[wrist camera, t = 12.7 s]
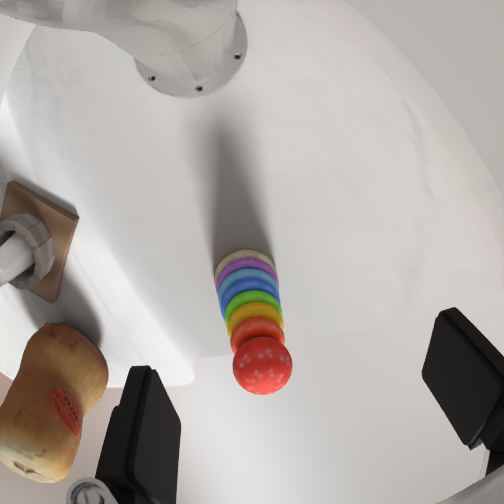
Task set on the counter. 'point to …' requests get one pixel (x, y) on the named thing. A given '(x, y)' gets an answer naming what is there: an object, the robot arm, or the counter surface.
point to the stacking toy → (253, 320)
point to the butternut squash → (50, 402)
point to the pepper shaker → (14, 258)
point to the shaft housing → (38, 238)
